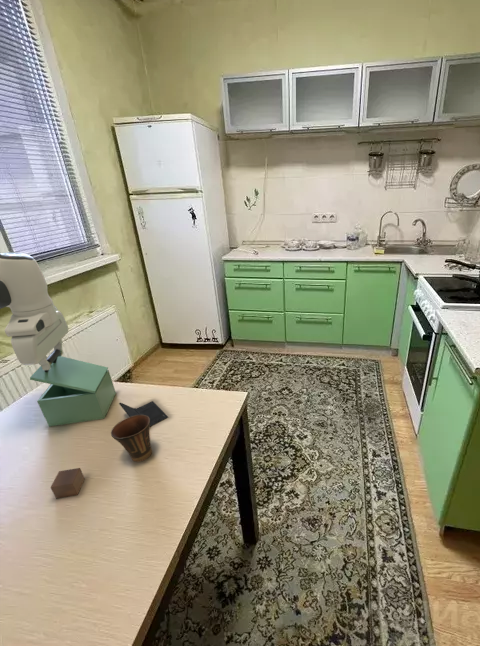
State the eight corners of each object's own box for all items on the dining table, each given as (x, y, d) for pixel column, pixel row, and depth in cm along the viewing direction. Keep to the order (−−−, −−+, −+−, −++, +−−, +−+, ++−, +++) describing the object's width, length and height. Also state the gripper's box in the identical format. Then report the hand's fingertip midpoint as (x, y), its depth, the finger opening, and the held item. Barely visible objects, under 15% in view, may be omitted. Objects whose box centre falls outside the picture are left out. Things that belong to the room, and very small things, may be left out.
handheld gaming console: (174, 410, 95) (146, 398, 87) (161, 434, 92) (132, 423, 85) (153, 401, 102) (126, 389, 94) (140, 422, 99) (112, 412, 92)
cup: (136, 438, 87) (126, 409, 83) (165, 444, 85) (157, 414, 81) (112, 464, 80) (101, 433, 75) (143, 471, 78) (133, 440, 73)
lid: (29, 379, 84) (32, 364, 83) (51, 356, 95) (54, 341, 94) (94, 393, 90) (98, 378, 88) (107, 369, 101) (111, 356, 99)
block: (57, 501, 71) (50, 487, 69) (65, 484, 75) (59, 471, 73) (79, 497, 72) (72, 483, 70) (86, 480, 76) (80, 467, 74)
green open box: (50, 428, 92) (37, 401, 87) (67, 401, 103) (57, 375, 98) (105, 420, 94) (95, 393, 90) (116, 395, 105) (108, 369, 101)
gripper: (41, 303, 92) (57, 345, 99) (-1, 333, 74) (22, 383, 81) (66, 301, 94) (80, 343, 100) (30, 331, 76) (50, 380, 82)
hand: (53, 362), depth 90 cm, fingers closed on lid, 6 cm apart
